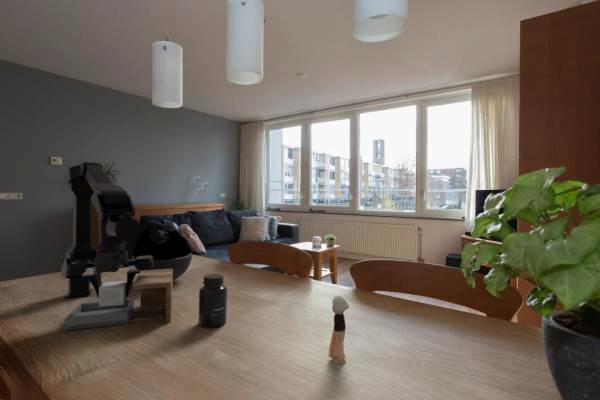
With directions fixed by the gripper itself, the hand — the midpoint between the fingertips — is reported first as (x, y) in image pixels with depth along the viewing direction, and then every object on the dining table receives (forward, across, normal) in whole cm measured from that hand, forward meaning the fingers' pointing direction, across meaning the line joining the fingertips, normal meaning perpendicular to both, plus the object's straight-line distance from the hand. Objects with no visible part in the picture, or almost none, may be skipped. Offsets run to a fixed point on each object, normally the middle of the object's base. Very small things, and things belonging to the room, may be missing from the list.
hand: (113, 298), depth 82 cm
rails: (+5, +1, 0) cm, 5 cm away
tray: (+5, -3, 0) cm, 6 cm away
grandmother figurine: (+7, +46, -37) cm, 60 cm away
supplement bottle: (+6, +24, -11) cm, 27 cm away
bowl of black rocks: (+5, +10, +32) cm, 33 cm away
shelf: (+5, +10, 0) cm, 11 cm away
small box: (+1, 0, 0) cm, 1 cm away
